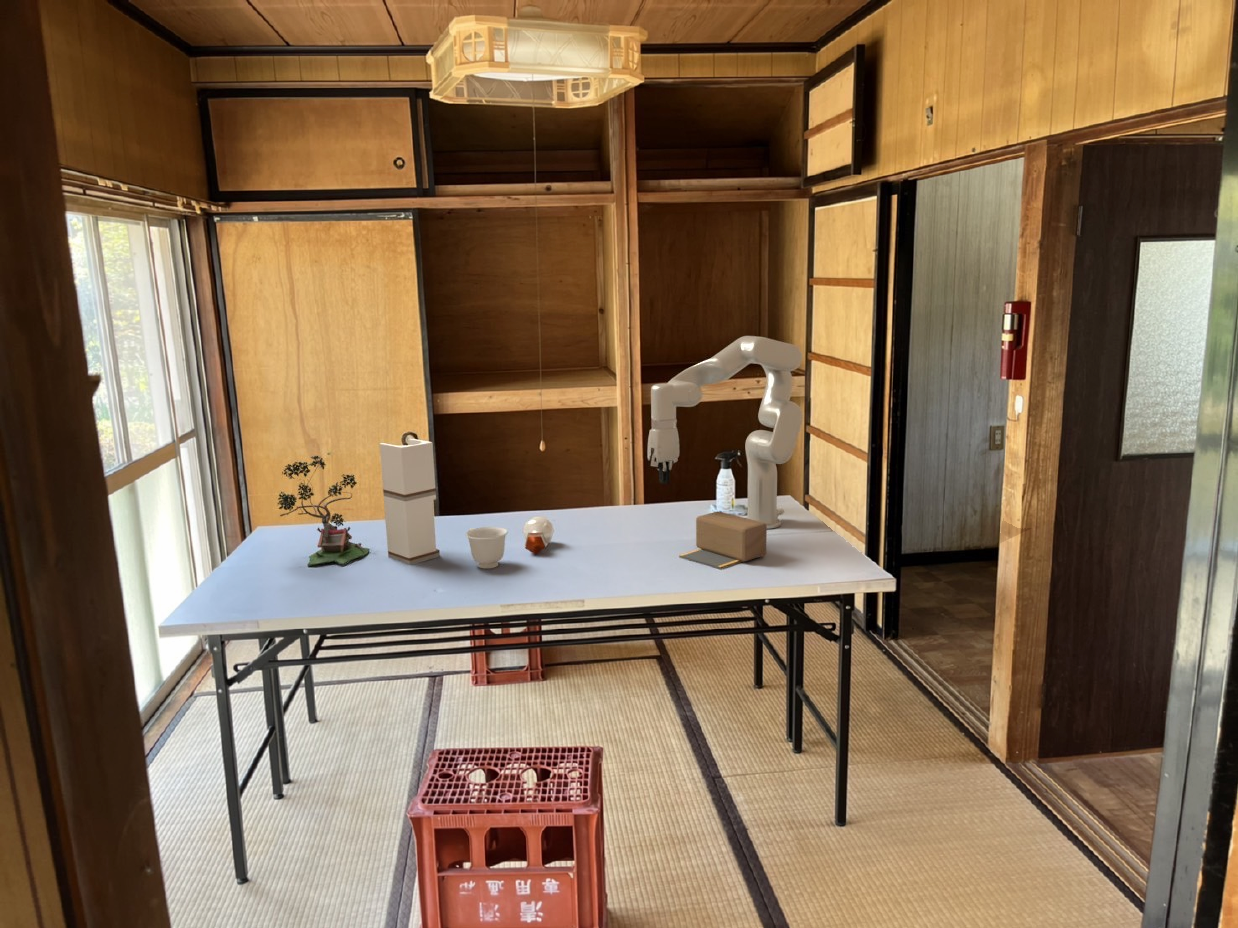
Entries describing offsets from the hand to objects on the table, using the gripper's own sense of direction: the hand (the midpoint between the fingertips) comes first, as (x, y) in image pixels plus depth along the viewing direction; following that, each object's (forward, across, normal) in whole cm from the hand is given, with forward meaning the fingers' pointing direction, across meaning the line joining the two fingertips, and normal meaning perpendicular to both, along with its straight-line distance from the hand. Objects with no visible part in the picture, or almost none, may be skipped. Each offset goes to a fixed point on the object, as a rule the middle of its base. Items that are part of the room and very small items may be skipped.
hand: (664, 482), depth 268 cm
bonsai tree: (+18, +86, -60) cm, 106 cm away
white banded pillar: (+19, +64, -44) cm, 80 cm away
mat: (+19, 0, +23) cm, 30 cm away
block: (+13, -4, +13) cm, 19 cm away
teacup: (+19, +53, -21) cm, 60 cm away
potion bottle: (+19, +32, -23) cm, 44 cm away
